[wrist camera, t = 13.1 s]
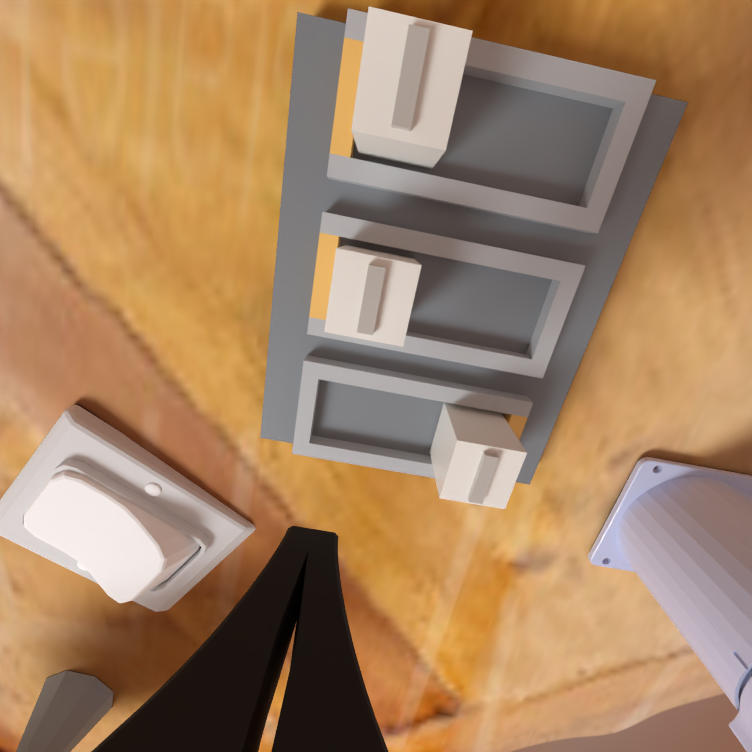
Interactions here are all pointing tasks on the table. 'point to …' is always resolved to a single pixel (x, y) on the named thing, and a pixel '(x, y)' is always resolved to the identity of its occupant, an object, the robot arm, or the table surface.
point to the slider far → (475, 456)
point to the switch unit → (454, 246)
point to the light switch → (117, 514)
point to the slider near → (408, 87)
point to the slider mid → (371, 295)
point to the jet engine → (65, 712)
